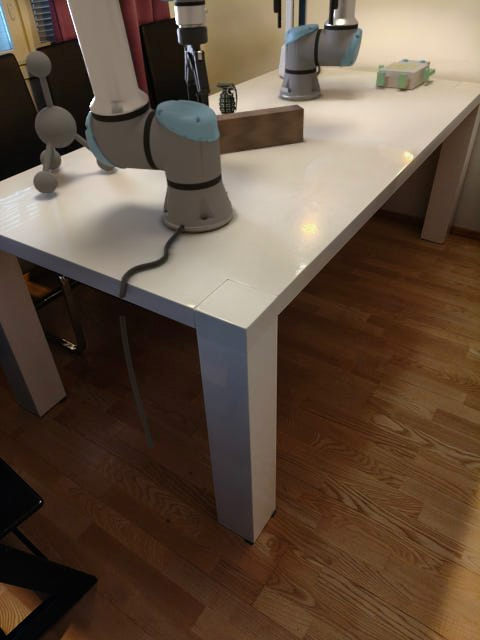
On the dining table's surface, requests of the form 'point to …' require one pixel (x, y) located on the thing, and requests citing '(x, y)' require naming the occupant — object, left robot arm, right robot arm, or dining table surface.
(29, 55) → the molecular model
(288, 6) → the electronic device
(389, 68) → the grey box with connectors
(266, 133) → the bar
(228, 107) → the grenade
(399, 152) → the dining table surface
